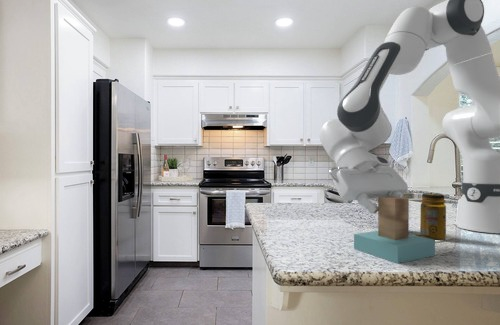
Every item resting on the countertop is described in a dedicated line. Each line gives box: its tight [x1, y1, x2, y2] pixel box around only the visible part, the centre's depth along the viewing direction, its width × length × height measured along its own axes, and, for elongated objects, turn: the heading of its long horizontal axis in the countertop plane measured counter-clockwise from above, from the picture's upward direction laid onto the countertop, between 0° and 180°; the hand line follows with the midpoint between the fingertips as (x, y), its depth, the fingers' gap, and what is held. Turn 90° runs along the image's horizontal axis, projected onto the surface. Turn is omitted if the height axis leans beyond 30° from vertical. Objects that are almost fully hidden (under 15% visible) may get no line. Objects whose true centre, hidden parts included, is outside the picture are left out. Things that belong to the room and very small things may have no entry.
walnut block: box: [377, 196, 410, 240], centre depth 72 cm, size 4×4×9 cm
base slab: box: [353, 230, 436, 264], centre depth 72 cm, size 12×12×4 cm
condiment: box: [415, 193, 453, 244], centre depth 86 cm, size 7×8×12 cm
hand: (389, 210), depth 73 cm, fingers open, 8 cm apart
